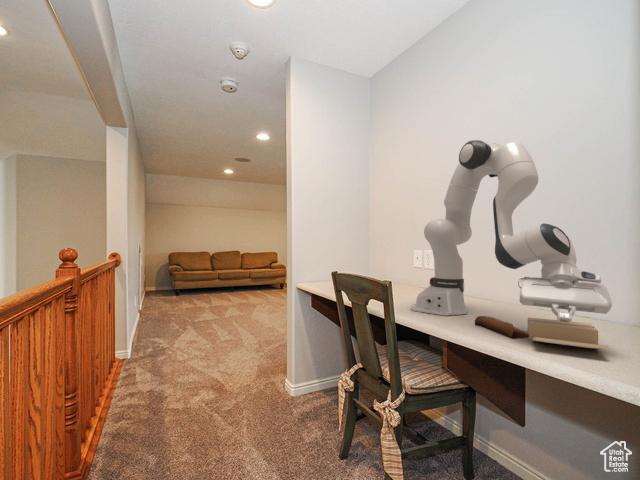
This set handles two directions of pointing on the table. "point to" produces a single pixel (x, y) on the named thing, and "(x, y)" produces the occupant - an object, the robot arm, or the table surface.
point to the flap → (569, 343)
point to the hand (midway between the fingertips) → (564, 320)
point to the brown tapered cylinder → (500, 327)
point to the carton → (562, 330)
